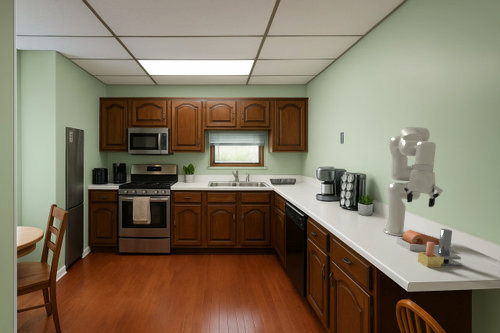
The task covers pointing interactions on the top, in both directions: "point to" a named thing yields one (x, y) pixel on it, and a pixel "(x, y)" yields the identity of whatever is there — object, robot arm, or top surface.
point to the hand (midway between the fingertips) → (419, 204)
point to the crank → (419, 238)
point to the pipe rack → (416, 246)
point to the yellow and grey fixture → (441, 253)
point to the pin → (430, 249)
